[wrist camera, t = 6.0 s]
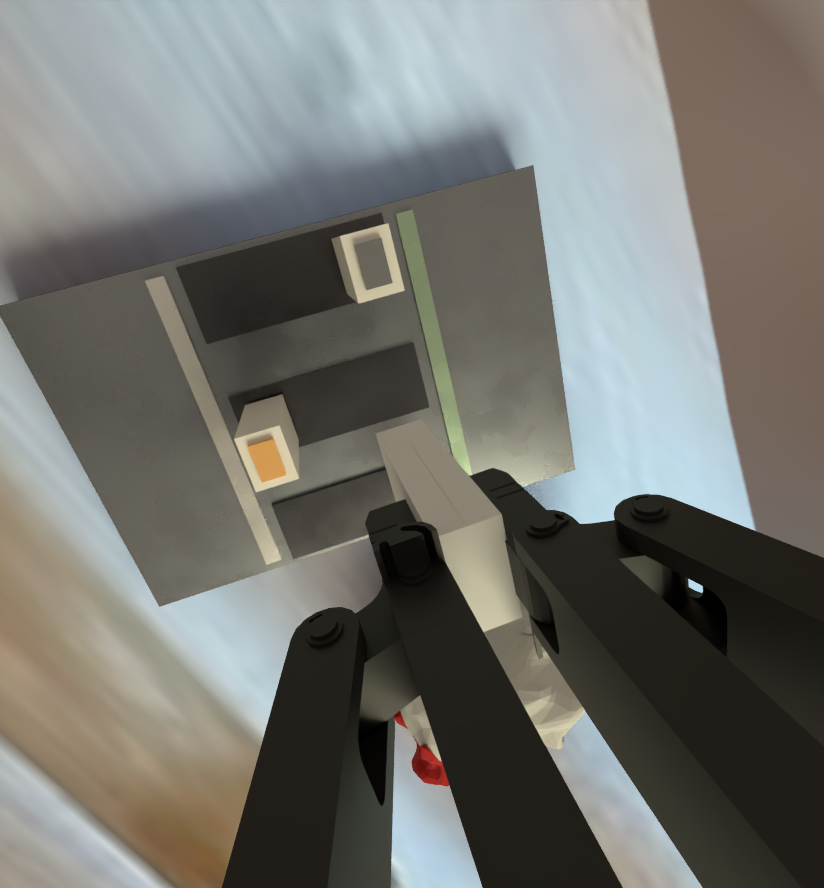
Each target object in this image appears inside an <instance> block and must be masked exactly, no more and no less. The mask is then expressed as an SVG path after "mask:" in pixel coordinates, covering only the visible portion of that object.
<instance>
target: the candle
mask: <svg viewBox="0 0 824 888" xmlns="http://www.w3.org/2000/svg"><path fill="white" fill-rule="evenodd" d="M519 601H520V599H519ZM520 606H521V611H522V616H523V617H522V618H519V619H517V620H514V621H511V622H509V623H506V624H503V625H501V626H498V627H496V628H493V629H490V630H488V631H485V632H484V634H485V636H486V638H487V639H488V641H489V643H490V645H491V647H492V649H493V650H494V652H495V654H496V656H497V658H498V660H499V661H500V663H501V665H502V667H503V669H504V671H505V672H506V674H507V676H508V678H509V680H510V682H511V683H512V685H513V687H514V689H515V691H516V693H517V695H518V696H519V698H520V700H521V702H522V704H523V706H524V707H525V709H526V711H527V713H528V715H529V717H530V718H531V720H532V722H533V724H534V726H535V728H536V729H537V731H538V733H539V735H540V737H541V739H542V740H543V742H544V744H545V746H548V747H551V748H555V749H560V748H563V744H564V735H565V734H566V733H567V732H568V730H569V729H570V728H571V727H572V726H573V725H574V724H575V723H576V722H577V721H578V720H579V718H580V717H581V716H582V715H583V713H584V712H585V710H584V708H583V707H582V705H581V704H580V702H579V701H578V699H577V698H576V696H575V695H574V693H573V692H572V690H571V689H570V687H569V686H568V684H567V683H566V681H565V680H564V678H563V677H562V675H561V674H560V672H559V671H558V669H557V668H556V666H555V664H554V663H553V661H552V660H551V658H550V657H549V655H548V654H547V652H546V651H545V649H544V648H543V646H542V653H543V658H541V659H538V656H537V653H536V649H535V644H534V639H533V634H532V629H531V624H530V619H529V614H528V611H527V609H526V608H525V606H524V605H523V603H522V602H521V601H520ZM394 719H395V721H396V722H397V723H398V724H400V725H402V726H404V727H405V728H407V729H409V730H410V732H411V733H412V735H413V737H414V739H415V741H416V742H417V749H416V753H415V755H414V757H413V760H412V767H413V771H414V772H415V773H416V774H417V776H418V777H419V778H420V779H421V780H422V781H423V782H425V783H429V784H434V785H443V786H449V782H448V779H447V776H446V773H445V770H444V767H443V764H442V761H441V757H440V754H439V751H438V748H437V745H436V742H435V739H434V736H433V733H432V730H431V727H430V724H429V720H428V717H427V714H426V711H425V708H424V705H423V702H422V699H421V696H418V697H417V698H416V699H414V700H413V701H412V702H411V703H409V704H408V705H407V706H405V707H404V708H403V709H401V710H400V711H399V712H397V713H396V714H395V715H394Z"/></svg>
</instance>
